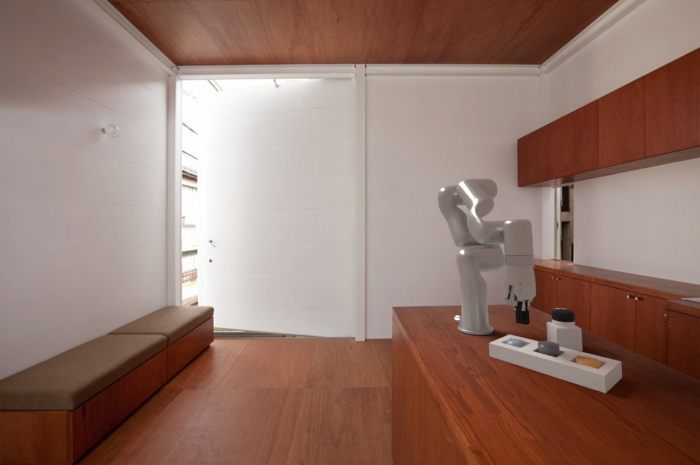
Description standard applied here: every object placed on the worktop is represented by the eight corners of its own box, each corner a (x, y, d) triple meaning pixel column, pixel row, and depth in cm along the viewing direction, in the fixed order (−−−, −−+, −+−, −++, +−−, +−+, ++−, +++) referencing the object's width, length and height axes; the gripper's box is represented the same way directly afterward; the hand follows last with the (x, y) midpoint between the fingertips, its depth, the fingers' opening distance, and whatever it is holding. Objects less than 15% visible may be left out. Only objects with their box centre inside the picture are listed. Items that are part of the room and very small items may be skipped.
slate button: (503, 352, 92) (503, 341, 92) (512, 348, 95) (511, 337, 95) (520, 357, 88) (520, 345, 88) (529, 353, 91) (528, 341, 91)
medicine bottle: (583, 351, 93) (581, 312, 93) (557, 351, 94) (555, 312, 94) (571, 343, 100) (569, 306, 100) (547, 342, 101) (545, 306, 101)
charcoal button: (535, 356, 85) (534, 343, 85) (543, 351, 88) (542, 339, 88) (555, 362, 81) (554, 348, 81) (563, 357, 84) (562, 344, 84)
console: (489, 356, 92) (488, 343, 93) (510, 346, 99) (509, 334, 99) (605, 393, 69) (604, 375, 69) (622, 377, 76) (621, 361, 76)
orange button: (573, 373, 78) (572, 359, 78) (580, 367, 80) (580, 354, 80) (597, 380, 74) (596, 366, 74) (604, 374, 76) (603, 360, 76)
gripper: (519, 259, 97) (522, 316, 97) (492, 262, 89) (496, 325, 89) (545, 259, 91) (548, 321, 91) (518, 263, 83) (522, 331, 82)
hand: (522, 323), depth 90 cm, fingers closed
